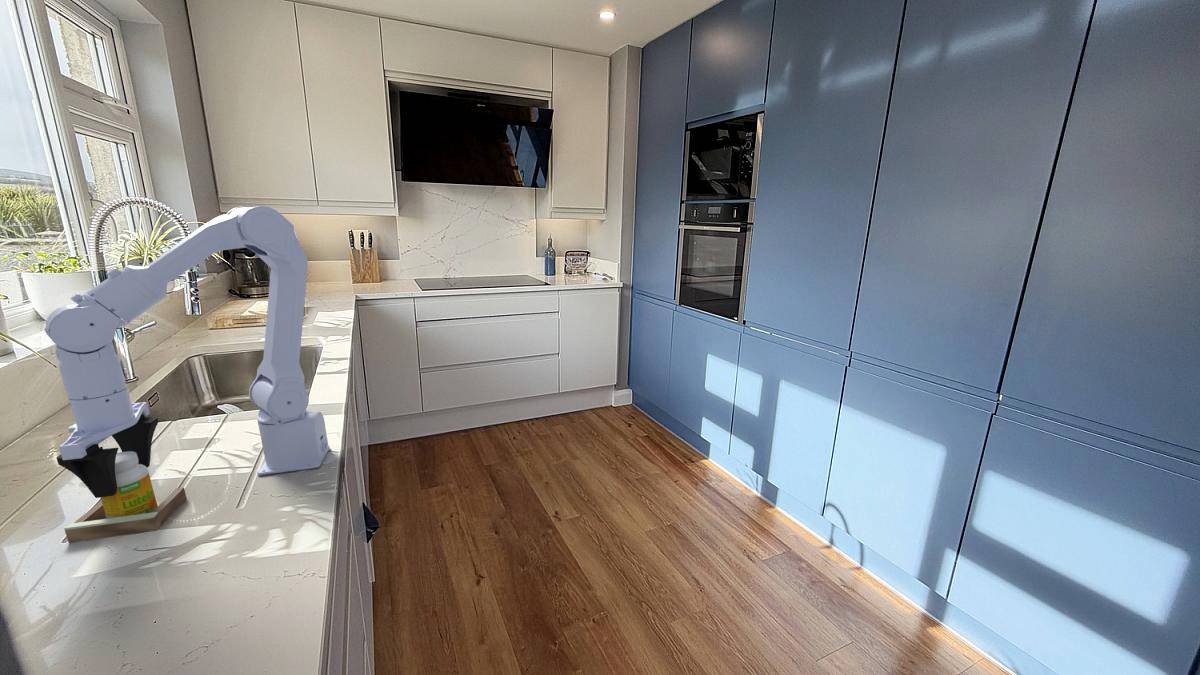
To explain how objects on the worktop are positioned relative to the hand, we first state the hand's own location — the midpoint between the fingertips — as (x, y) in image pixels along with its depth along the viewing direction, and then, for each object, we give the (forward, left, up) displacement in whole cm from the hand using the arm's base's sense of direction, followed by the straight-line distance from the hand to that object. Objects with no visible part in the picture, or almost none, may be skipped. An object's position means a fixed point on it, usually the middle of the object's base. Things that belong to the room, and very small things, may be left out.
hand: (124, 481), depth 70 cm
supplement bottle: (0, 0, -6) cm, 6 cm away
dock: (0, 0, -6) cm, 6 cm away
